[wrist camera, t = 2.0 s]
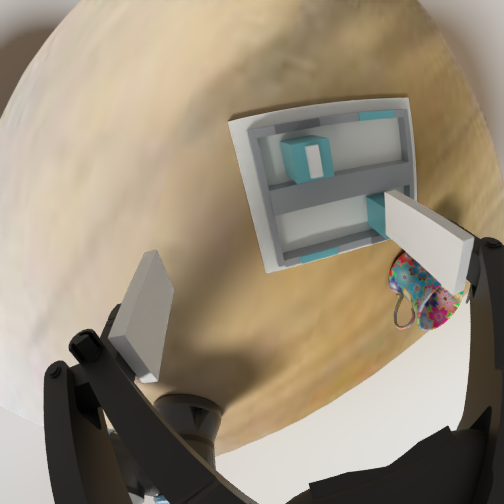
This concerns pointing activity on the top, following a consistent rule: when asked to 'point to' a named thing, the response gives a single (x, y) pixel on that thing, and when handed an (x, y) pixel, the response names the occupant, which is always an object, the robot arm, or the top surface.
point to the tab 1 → (307, 158)
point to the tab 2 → (377, 213)
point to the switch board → (343, 157)
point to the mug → (421, 294)
